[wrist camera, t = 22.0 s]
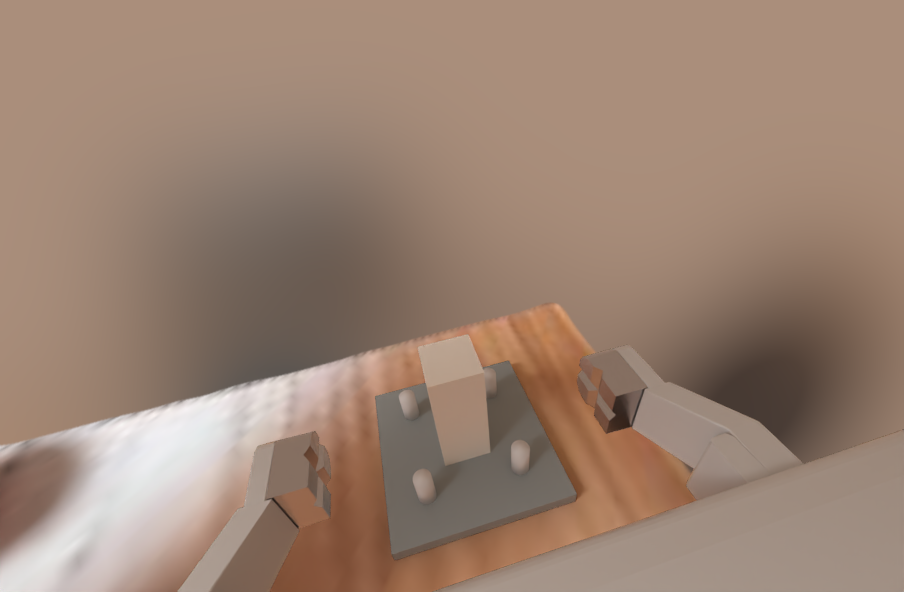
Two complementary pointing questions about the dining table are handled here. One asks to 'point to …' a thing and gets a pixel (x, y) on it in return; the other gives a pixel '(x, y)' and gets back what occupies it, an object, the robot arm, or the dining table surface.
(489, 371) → the peg cradle
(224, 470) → the dining table surface
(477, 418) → the cream post
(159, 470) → the dining table surface
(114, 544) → the dining table surface
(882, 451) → the robot arm
